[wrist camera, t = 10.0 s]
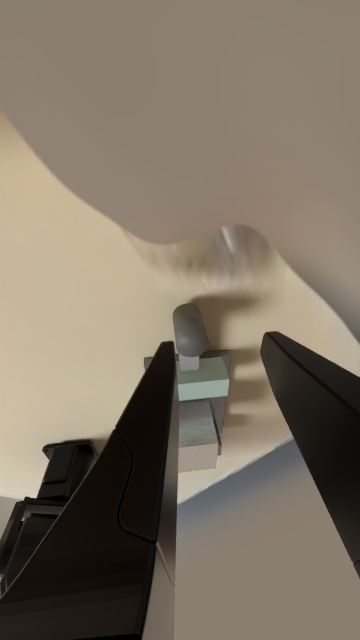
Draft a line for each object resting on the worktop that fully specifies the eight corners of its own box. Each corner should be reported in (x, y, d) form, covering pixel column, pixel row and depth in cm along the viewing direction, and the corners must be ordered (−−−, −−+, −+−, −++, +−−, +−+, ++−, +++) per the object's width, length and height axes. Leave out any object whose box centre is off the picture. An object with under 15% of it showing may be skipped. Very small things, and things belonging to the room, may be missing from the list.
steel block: (204, 412, 29) (215, 468, 24) (173, 415, 29) (177, 472, 24) (205, 386, 26) (218, 443, 21) (170, 389, 26) (174, 448, 21)
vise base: (220, 427, 33) (227, 456, 30) (158, 434, 33) (158, 465, 29) (228, 349, 24) (240, 378, 21) (144, 358, 24) (142, 388, 21)
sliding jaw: (220, 374, 25) (230, 407, 22) (156, 381, 25) (156, 415, 21) (226, 299, 20) (240, 327, 16) (144, 306, 19) (142, 337, 16)
